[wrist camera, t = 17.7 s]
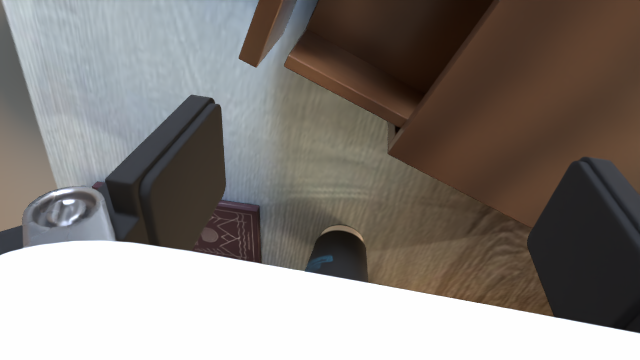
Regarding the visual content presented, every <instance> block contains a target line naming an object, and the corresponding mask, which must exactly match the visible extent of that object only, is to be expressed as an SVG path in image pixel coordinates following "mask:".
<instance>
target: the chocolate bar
mask: <svg viewBox="0 0 640 360" xmlns="http://www.w3.org/2000/svg"><path fill="white" fill-rule="evenodd" d="M103 183H104V182H96V183H95V184H94V185H93V186H92V188H93V189H95V190H97V189H98V188H99V187H100V186H101V185H102V184H103ZM192 252H198V253H203V254H209V255H215V256H220V257H226V258H232V259H237V260H243V261H248V262H254V263H260V264H261V241H260V216H259V206H257V205H251V204H244V203H237V202H231V201H224V200H220V202H219V203H218V205H217V207H216V209H215V211H214V212H213V214H212V216H211V218H210V219H209V221H208V223H207V225H206V226H205V228H204V230H203V232H202V234H201V235H200V237H199V239H198V241H197V242H196V244H195V246H194V248H193V249H192Z"/></svg>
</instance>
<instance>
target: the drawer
mask: <svg viewBox="0 0 640 360" xmlns="http://www.w3.org/2000/svg"><path fill="white" fill-rule="evenodd" d="M493 1H494V0H318V3H317V5H316V7H315V9H314V12H313V14H312V16H311V18H310V20H309V23H308V25H307V27H306V29H305V31H304V32H303V34H302V35H301V37H300V38H299V40H298V41H297V43H296V44H295V46H294V48H293V49H292V51H291V52H290V54H289V55H288V57H287V59H286V62H285V64H284V67H286V68H288V69H290V70H292V71H294V72H296V73H297V74H299V75H301V76H303V77H305V78H307V79H309V80H311V81H313V82H314V83H316V84H318V85H320V86H322V87H324V88H326V89H328V90H330V91H331V92H333V93H335V94H337V95H339V96H341V97H343V98H345V99H347V100H348V101H350V102H352V103H354V104H356V105H358V106H360V107H362V108H364V109H366V110H367V111H369V112H371V113H373V114H375V115H377V116H379V117H381V118H383V119H384V120H386V121H388V122H390V123H392V124H394V125H396V126H398V127H400V128H402V126H403V125H404V123H405V122H406V121H407V119H408V118H409V117H410V115H411V114H412V112H413V111H414V110H415V108H416V107H417V106H418V104H419V103H420V101H421V100H422V99H423V97H424V96H425V95H426V93H427V92H428V90H429V89H430V88H431V86H432V85H433V84H434V82H435V81H436V79H437V78H438V77H439V75H440V74H441V73H442V71H443V70H444V68H445V67H446V66H447V64H448V63H449V62H450V60H451V59H452V57H453V56H454V55H455V53H456V52H457V51H458V49H459V48H460V46H461V45H462V44H463V42H464V41H465V40H466V38H467V37H468V35H469V34H470V33H471V31H472V30H473V29H474V27H475V26H476V24H477V23H478V22H479V20H480V19H481V18H482V16H483V15H484V13H485V12H486V11H487V9H488V8H489V7H490V5H491V4H492V2H493ZM296 2H297V0H259V2H258V5H257V7H256V10H255V13H254V16H253V19H252V21H251V24H250V27H249V30H248V33H247V35H246V38H245V41H244V44H243V47H242V49H241V52H240V55H239V59H240V60H242V61H244V62H246V63H248V64H250V65H252V66H254V67H257V66H258V65H259V64H260V62H261V61H262V60H263V59H264V57H265V56H266V55H267V54H268V52H269V51H270V50H271V49H272V47H273V46H274V45H275V44H276V42H277V41H278V40H279V38H280V37H281V36H282V35H283V33H284V31H285V28H286V26H287V23H288V21H289V19H290V16H291V14H292V11H293V9H294V7H295V4H296Z"/></svg>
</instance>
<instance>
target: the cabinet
mask: <svg viewBox="0 0 640 360" xmlns="http://www.w3.org/2000/svg"><path fill="white" fill-rule="evenodd" d="M388 154H389V155H391V156H393V157H395V158H397V159H398V160H400V161H402V162H404V163H406V164H408V165H410V166H412V167H414V168H416V169H418V170H420V171H422V172H424V173H426V174H428V175H430V176H431V177H433V178H435V179H437V180H439V181H441V182H443V183H445V184H447V185H449V186H451V187H453V188H455V189H457V190H459V191H461V192H463V193H465V194H466V195H468V196H470V197H472V198H474V199H476V200H478V201H480V202H482V203H484V204H486V205H488V206H490V207H492V208H494V209H496V210H498V211H500V212H501V213H503V214H505V215H507V216H509V217H511V218H513V219H515V220H517V221H519V222H521V223H523V224H525V225H527V226H529V227H531V228H533V227H534V225H535V224H536V222H537V220H538V218H539V217H540V215H541V213H542V212H543V210H544V208H545V206H546V205H547V203H548V201H549V200H550V198H551V196H552V194H553V193H554V191H555V189H556V188H557V186H558V184H559V182H560V181H561V179H562V177H563V176H564V174H565V172H566V170H567V169H568V167H569V165H570V164H571V163H572V162H573V161H578V160H579V159H581V158H582V157H592V158H598V159H604V160H610V161H611V162H613V164H614V165H615V166H616V167H617V169H618V170H619V171H620V172H621V173H622V175H623V176H624V177H625V178H626V179H627V181H628V182H629V183H630V184H631V185H632V187H633V188H634V189H635V190H636V192H637V193H638V194H639V195H640V0H494V1H493V2H492V4H491V5H490V7H489V8H488V9H487V11H486V12H485V13H484V15H483V16H482V18H481V19H480V20H479V22H478V23H477V24H476V26H475V27H474V29H473V30H472V31H471V33H470V34H469V35H468V37H467V38H466V40H465V41H464V42H463V44H462V45H461V46H460V48H459V49H458V51H457V52H456V53H455V55H454V56H453V57H452V59H451V60H450V62H449V63H448V64H447V66H446V67H445V68H444V70H443V71H442V73H441V74H440V75H439V77H438V78H437V79H436V81H435V82H434V84H433V85H432V86H431V88H430V89H429V90H428V92H427V93H426V95H425V96H424V97H423V99H422V100H421V101H420V103H419V104H418V106H417V107H416V108H415V110H414V111H413V112H412V114H411V115H410V117H409V118H408V119H407V121H406V122H405V123H404V125H403V126H402V128H400V127H398V126H396V125H394V124H392V123H390V122H388Z"/></svg>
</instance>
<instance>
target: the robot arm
mask: <svg viewBox="0 0 640 360" xmlns="http://www.w3.org/2000/svg"><path fill="white" fill-rule="evenodd" d="M225 187H226V178H225V162H224V146H223V130H222V114H221V107H220V105H219V104H215V101H214V99H213V98H209V97H202V96H196V95H190V96H189V97H188V98H187V99H186V100H185V101H184V102H183V103H182V104H181V105H180V106H179V107H178V108H177V109H176V110H175V111H174V112H173V113H172V114H171V115H170V116H169V117H168V118H167V119H166V120H165V121H164V122H163V123H162V124H161V125H160V126H159V127H158V128H157V129H156V130H155V131H154V132H153V133H152V134H151V135H150V136H148V137H147V138H146V139H145V140H144V141H143V142H142V143H141V144H140V145H139V146H138V147H137V148H136V149H135V150H134V151H133V152H132V153H131V154H130V155H129V156H128V157H127V158H126V159H125V160H124V161H123V162H122V163H121V164H120V165H119V166H118V167H117V168H116V169H115V170H114V171H113V172H112V173H111V174H110V175H109V176H108V177H107V178H106V179H105V182H104V183H103V184H102V185H101V186H100V187H99V188H98V189H97V190H95V189H93V188H89V187H84V186H72V187H65V188H60V189H57V190H54V191H50V192H48V193H46V194H44V195H42V196H40V197H38V198H37V199H35V200H34V201H33V202H32V203H30V204H29V205H28V207H27V208H26V209H25V211H24V214H23V218H22V225H21V226H18V227H15V228H11V229H8V230H5V231H1V232H0V360H640V195H639V194H638V193H637V192H636V190H635V189H634V188H633V187H632V185H631V184H630V183H629V182H628V181H627V179H626V178H625V177H624V176H623V175H622V173H621V172H620V171H619V170H618V169H617V167H616V166H615V165H614V164H613V162H611V161H610V160H604V159H598V158H592V157H582V158H581V159H579V160H578V161H573V162H572V163H571V164H570V165H569V167H568V169H567V170H566V172H565V174H564V176H563V177H562V179H561V181H560V182H559V184H558V186H557V188H556V189H555V191H554V193H553V194H552V196H551V198H550V200H549V201H548V203H547V205H546V206H545V208H544V210H543V212H542V213H541V215H540V217H539V218H538V220H537V222H536V224H535V225H534V227H533V229H532V230H531V232H530V234H529V236H528V240H527V246H528V250H529V252H530V255H531V258H532V260H533V263H534V265H535V268H536V271H537V273H538V276H539V278H540V281H541V284H542V286H543V289H544V291H545V294H546V297H547V299H548V302H549V304H550V307H551V310H552V312H553V315H554V317H550V316H545V315H540V314H534V313H529V312H523V311H518V310H513V309H507V308H502V307H497V306H491V305H486V304H480V303H475V302H470V301H464V300H459V299H453V298H448V297H442V296H437V295H432V294H426V293H421V292H415V291H410V290H404V289H399V288H393V287H388V286H382V285H377V284H371V283H366V282H360V281H355V280H349V279H344V278H338V277H333V276H327V275H321V274H316V273H310V272H305V271H299V270H293V269H288V268H282V267H277V266H271V265H265V264H260V263H254V262H248V261H243V260H237V259H232V258H226V257H220V256H215V255H209V254H203V253H198V252H192V249H193V248H194V246H195V244H196V242H197V241H198V239H199V237H200V235H201V234H202V232H203V230H204V228H205V226H206V225H207V223H208V221H209V219H210V218H211V216H212V214H213V212H214V211H215V209H216V207H217V205H218V203H219V202H220V200H221V198H222V196H223V194H224V192H225Z"/></svg>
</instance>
